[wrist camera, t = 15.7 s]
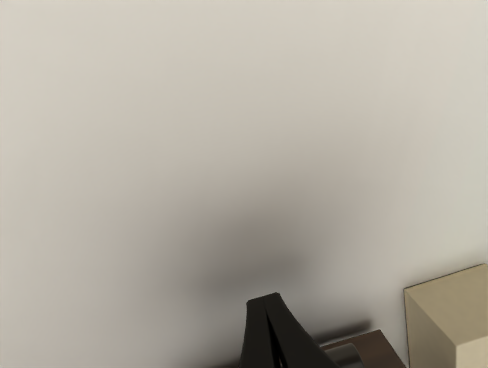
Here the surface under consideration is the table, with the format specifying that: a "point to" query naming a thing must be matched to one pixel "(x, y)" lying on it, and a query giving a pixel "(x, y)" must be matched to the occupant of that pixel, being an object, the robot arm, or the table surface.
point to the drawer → (364, 352)
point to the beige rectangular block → (449, 321)
